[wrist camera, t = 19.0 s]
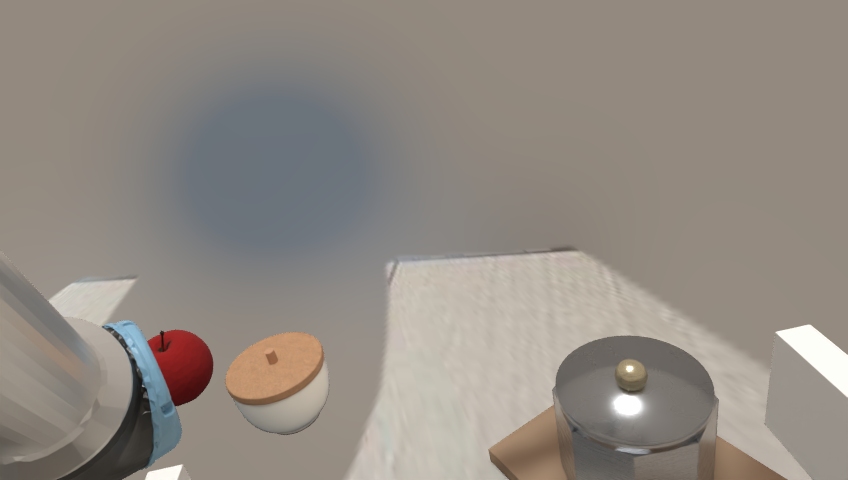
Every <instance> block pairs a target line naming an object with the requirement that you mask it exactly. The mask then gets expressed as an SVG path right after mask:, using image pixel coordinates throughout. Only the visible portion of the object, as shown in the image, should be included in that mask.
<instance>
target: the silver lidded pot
mask: <svg viewBox="0 0 848 480" xmlns="http://www.w3.org/2000/svg"><path fill="white" fill-rule="evenodd" d="M552 391H553V399H554V408H555V416H556V424H557V433H558V441H559V450H560V458H561V464H562V466H563V469H564V471H565V474H566V476H567V479H568V480H713V479H714V465H715V450H716V434H717V418H718V403H719V399H718V398H717V397H716V396H715V395H714V386H713V383H712V380H711V378H710V376H709V374H708V372H707V371H706V370H705V368H704V367H703V366H702V365H701V364H700V363H699V362H698V361H697V360H696V359H695V358H694V357H692V356H691V355H690V354H688V353H687V352H685V351H684V350H682V349H680V348H678V347H676V346H674V345H671V344H669V343H666V342H663V341H660V340H656V339H652V338H647V337H640V336H614V337H607V338H602V339H598V340H595V341H592V342H589V343H587V344H585V345H583V346H581V347H579V348H577V349H576V350H574V351H573V352H572V353H571V354H569V355H568V356H567V357H566V358H565V360H564V361H563V362H562V364H561V365H560V367H559V369H558V372H557V376H556V386H555V387H554V388H553V389H552Z"/></svg>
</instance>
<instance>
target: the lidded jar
mask: <svg viewBox="0 0 848 480" xmlns="http://www.w3.org/2000/svg"><path fill="white" fill-rule="evenodd" d="M225 384H226V388H227V390H228V392H229V394H230V395H231V397H232V398H233V400H234V402H235V404H236V405H237V407H238V409H239V410H240V412H241V413H242V414H243V416H244V417H245V418H246V419H247V420H248V421H249V422H250V423H251V424H252V425H254V426H255V427H257V428H259V429H261V430H263V431H266V432H270V433H277V434H281V435H288V434H294V433H297V432H299V431H302V430H304V429H305V428H307V427H309V426H310V425H311V424H312V423H313V422H314V421H315V420H316V418H317V417H318V416H319V413H320V411H321V410H322V408H323V407H324V405H325V402H326V400H327V397H328V393H329V386H330V384H329V372H328V367H327V364H326V360H325V357H324V352H323V348H322V346H321V343H320V342H319V341H318V340H317V339H316V338H315V337H313V336H311V335H309V334H306V333H301V332H291V333H290V332H289V333H283V334H278V335H275V336H271V337H268V338H266V339H264V340H261V341H259V342H257V343H256V344H254V345H252V346H251V347H249V348H247V349H246V350H245V351H244V352H243V353H241V354H240V355H239V356H238V357H237V358H236V359H235V360H234V362H233V363H232V364H231V366H230V367H229V369H228V372H227V374H226V379H225Z"/></svg>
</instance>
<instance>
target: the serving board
mask: <svg viewBox="0 0 848 480" xmlns="http://www.w3.org/2000/svg"><path fill="white" fill-rule="evenodd" d="M489 454H490V459H491V461H492V462H493V463H494V464H495V465H496V466H497V467H498V468H499V469H500V470H501V471H502V472H503V473H504V474H505V475H506V476H507V477H508V478H509V479H510V480H568V479H567V476H566V474H565V471H564V469H563V466H562V464H561V458H560V450H559V441H558V433H557V424H556V416H555V408H554V405H553V406H551V407H550V408H548V409H547V410H545V411H544V412H543V413H541V414H540V415H538V416H537V417H535V418H534V419H532V420H531V421H529V422H528V423H526V424H525V425H523V426H522V427H520V428H519V429H518V430H516V431H515V432H513V433H512V434H510V435H509V436H507V437H506V438H504V439H503V440H501V441H500V442H498V443H497V444H496V445H494V446H493V447H491V448H490V449H489ZM713 480H787V479H785V478H784V477H782V476H781V475H779V474H777V473H776V472H774V471H773V470H771V469H769V468H768V467H766V466H765V465H763V464H761V463H760V462H758V461H757V460H755V459H753V458H752V457H750V456H749V455H747V454H745V453H744V452H742V451H741V450H739V449H737V448H736V447H734V446H733V445H731V444H730V443H728V442H726V441H725V440H723V439H722V438H720V437H718V436H717V435H716V450H715V465H714V479H713Z"/></svg>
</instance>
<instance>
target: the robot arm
mask: <svg viewBox="0 0 848 480" xmlns="http://www.w3.org/2000/svg"><path fill="white" fill-rule="evenodd" d="M764 424H765V425H766V426H767V427H768V428H769V429H770V431H771V432H772V433H773V434H774V435H775V436H776V438H777V439H778V440H779V441H780V442H781V443H782V444H783V446H784V447H785V448H786V449H787V450H788V451H789V453H790V454H791V455H792V456H793V457H794V458H795V459H796V461H797V462H798V463H799V464H800V465H801V466H802V468H803V469H804V470H805V471H806V472H807V473H808V474H809V476H810V477H811V478H812V479H813V480H848V355H847V354H845V353H844V352H843V351H842V350H841V349H839V348H838V347H837V346H836V345H834V344H833V343H832V342H831V341H829V340H828V339H827V338H826V337H825V336H823V335H822V334H821V333H820V332H818V331H817V330H816V329H815V328H814V327H812V326H811V325H805V326H801V327H796V328H792V329H787V330H783V331H778V332H775V338H774V347H773V355H772V364H771V372H770V381H769V389H768V397H767V406H766V414H765V423H764ZM181 434H182V428H181V423H180V419H179V416H178V413H177V411H176V408H175V406H174V404H173V402H172V400H171V396H170V393H169V389H168V387H167V384H166V382H165V379H164V377H163V375H162V372H161V370H160V368H159V366H158V363H157V361H156V359H155V357H154V355H153V353H152V351H151V349H150V347H149V345H148V342H147V341H146V339H145V337H144V335H143V333H142V332H141V330H140V329H139V328H138V327H137V325H136V324H135V323H134V322H132V321H127V320H124V321H121V322H118V323H115V324H113V323H109V324H106V325H104V326H102V327H100V326H98V325H96V324H94V323H91V322H88V321H85V320H82V319H77V318H72V317H63V316H62V315H61V314H60V313H59V312H58V311H57V310H56V309H55V308H54V307H53V306H52V305H51V304H50V303H49V301H48V300H47V299H46V298H45V297H44V296H43V295H42V294H41V293H40V292H39V291H38V290H37V289H36V288H35V287H34V285H32V283H31V282H30V281H29V280H28V279H27V278H26V277H25V276H24V275H23V274H22V273H21V272H20V270H19V269H18V268H17V267H16V266H15V265H14V264H13V263H12V262H11V261H10V260H9V259H8V258H7V257H6V255H5V254H3V252H2V251H1V250H0V480H122V479H124V478H126V477H127V476H129V475H131V474H133V473H135V472H136V471H138V470H142V469H144V468H148V467H149V466H151V465H152V464H153V463H154V462H155V460H157V459H158V458H160V457H161V456H163V455H165V454H166V453H168V452H169V451H171V450H172V449H173V448H175V447H176V445H177V444H178V443H179V441H180V438H181ZM145 480H192V479H191V478H190V476H189V474H188V472H187V471H186V469H185V467H184V466H183V465H178V466H173V467H169V468H165V469H160V470H155V471H151V472H148V474H147V477H146V479H145Z"/></svg>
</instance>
